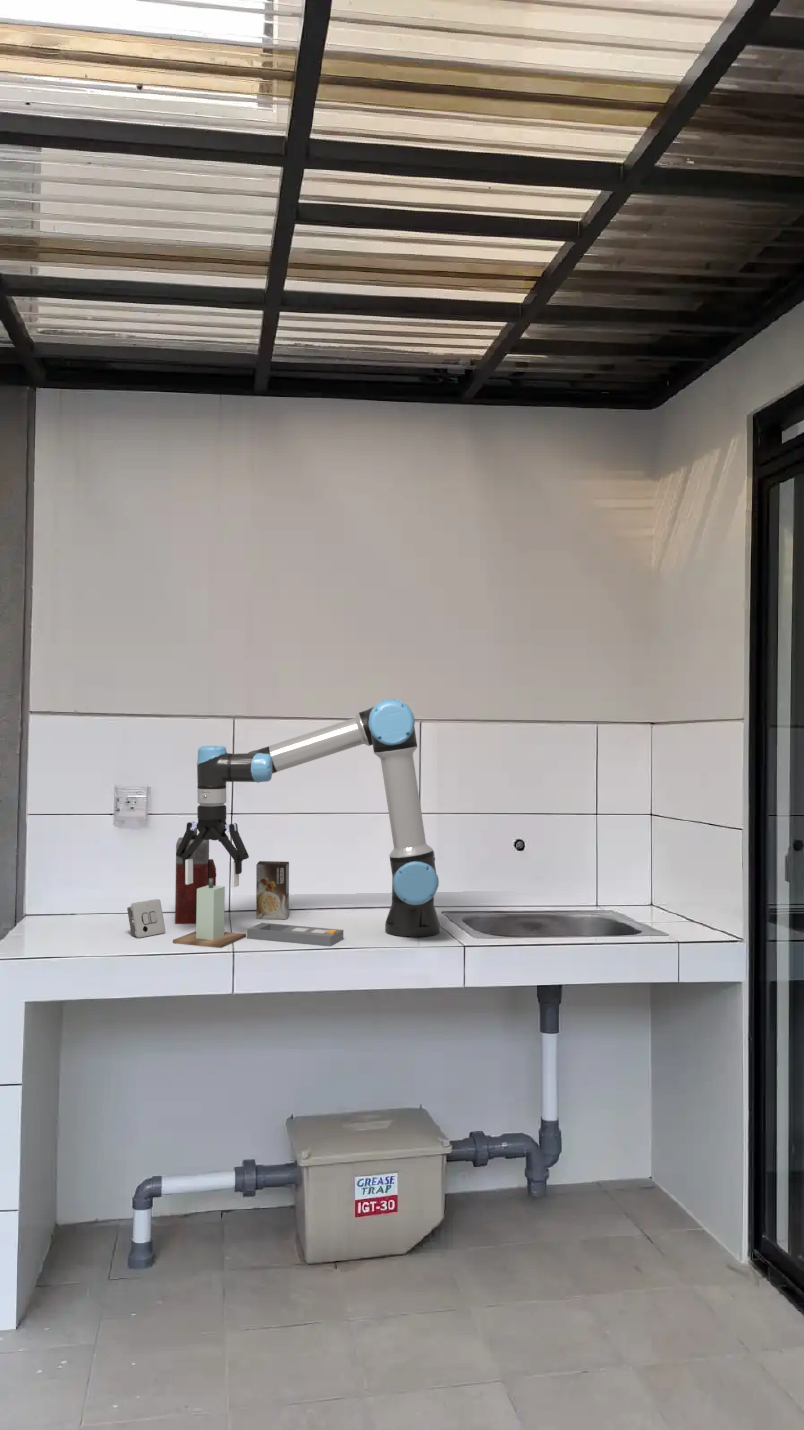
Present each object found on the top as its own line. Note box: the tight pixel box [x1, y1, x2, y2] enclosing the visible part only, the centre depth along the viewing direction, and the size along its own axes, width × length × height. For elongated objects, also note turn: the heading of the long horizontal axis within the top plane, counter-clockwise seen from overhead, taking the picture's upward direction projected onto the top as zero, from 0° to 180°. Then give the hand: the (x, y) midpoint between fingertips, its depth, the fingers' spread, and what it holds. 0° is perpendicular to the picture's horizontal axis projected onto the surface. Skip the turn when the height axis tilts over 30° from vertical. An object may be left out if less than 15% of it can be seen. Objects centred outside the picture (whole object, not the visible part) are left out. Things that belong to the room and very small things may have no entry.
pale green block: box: [195, 878, 226, 940], centre depth 288 cm, size 5×6×15 cm
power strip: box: [246, 922, 344, 947], centre depth 291 cm, size 24×9×3 cm, turn 71°
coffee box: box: [255, 860, 290, 920], centre depth 319 cm, size 9×6×16 cm
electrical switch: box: [126, 898, 166, 939], centre depth 293 cm, size 9×5×9 cm, turn 141°
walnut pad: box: [172, 930, 247, 949], centre depth 288 cm, size 14×14×1 cm
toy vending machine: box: [174, 828, 217, 925], centre depth 312 cm, size 9×11×28 cm
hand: (212, 885), depth 287 cm, fingers open, 13 cm apart
